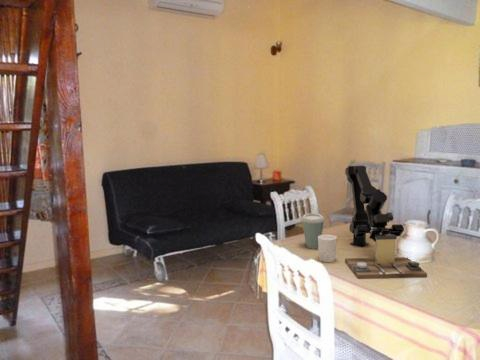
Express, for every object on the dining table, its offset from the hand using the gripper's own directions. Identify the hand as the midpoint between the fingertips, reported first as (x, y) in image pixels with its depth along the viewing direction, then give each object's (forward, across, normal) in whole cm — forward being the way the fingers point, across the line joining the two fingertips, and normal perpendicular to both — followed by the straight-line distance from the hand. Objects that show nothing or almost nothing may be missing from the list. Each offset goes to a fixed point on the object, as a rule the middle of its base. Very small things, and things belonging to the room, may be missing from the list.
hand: (383, 249), depth 158 cm
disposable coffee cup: (-16, -23, +27) cm, 38 cm away
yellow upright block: (+6, 0, +3) cm, 6 cm away
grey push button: (+7, -10, 0) cm, 12 cm away
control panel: (+6, 0, +5) cm, 8 cm away
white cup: (-2, -20, +14) cm, 24 cm away
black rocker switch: (+7, +10, 0) cm, 12 cm away
